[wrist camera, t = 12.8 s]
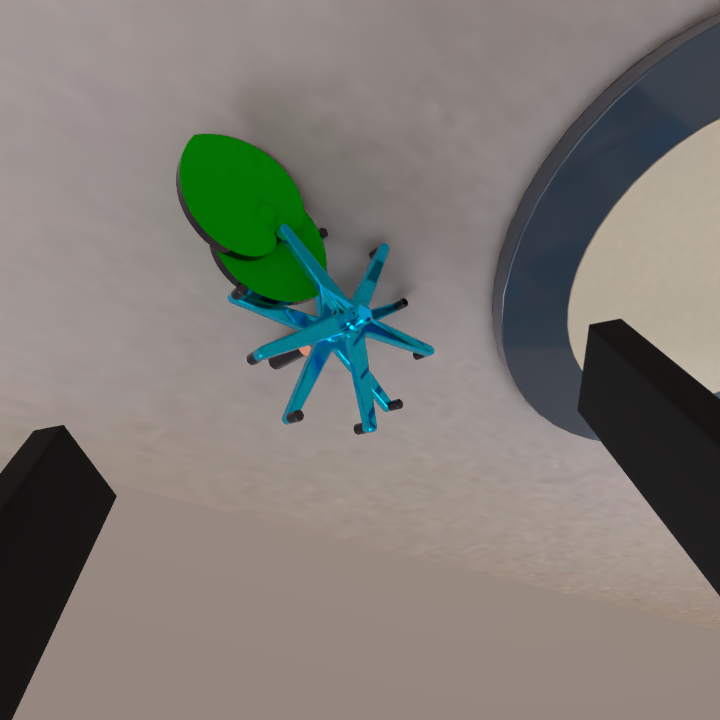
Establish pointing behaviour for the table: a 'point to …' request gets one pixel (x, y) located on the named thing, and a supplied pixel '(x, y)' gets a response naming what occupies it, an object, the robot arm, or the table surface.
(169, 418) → the table surface
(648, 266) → the plate
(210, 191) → the spiky blue green toy
